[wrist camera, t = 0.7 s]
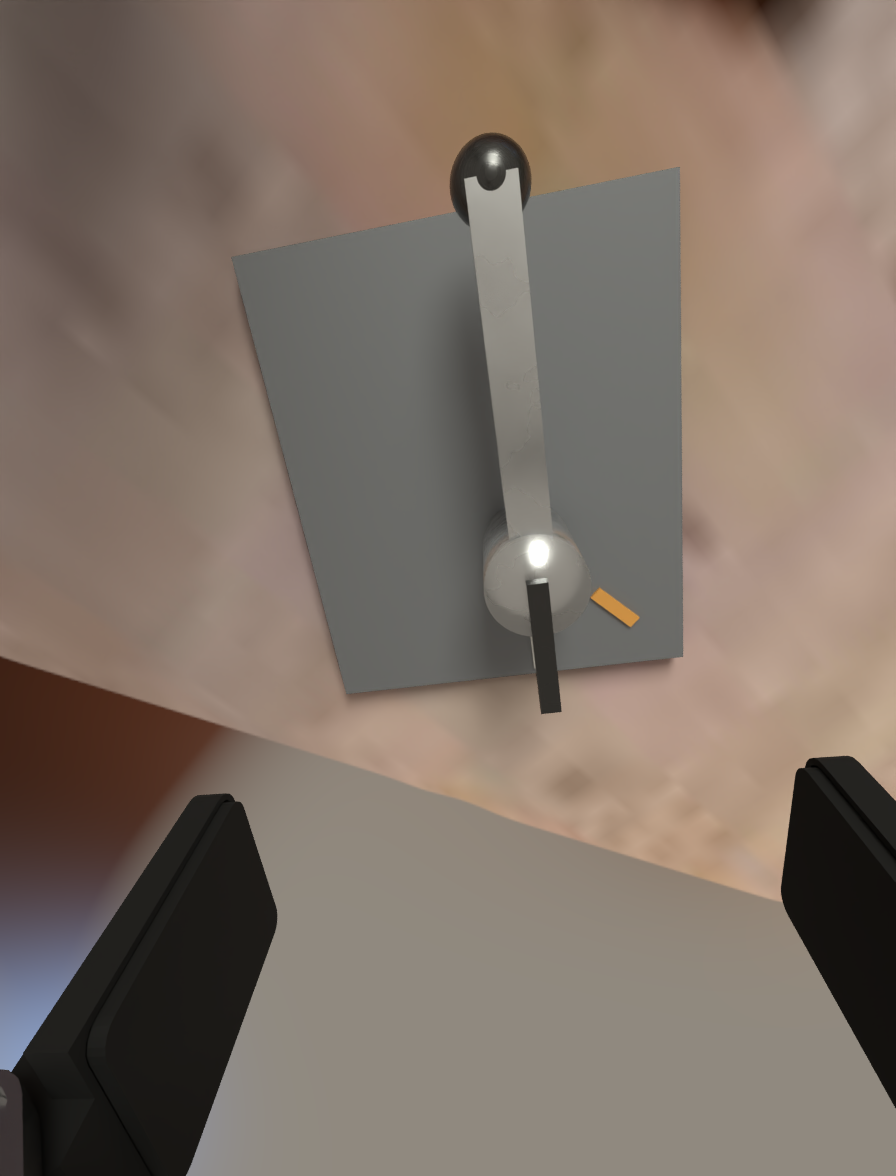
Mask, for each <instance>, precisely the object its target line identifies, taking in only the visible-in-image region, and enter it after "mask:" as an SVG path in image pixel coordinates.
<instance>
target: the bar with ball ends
mask: <svg viewBox="0 0 896 1176" xmlns="http://www.w3.org/2000/svg"><path fill="white" fill-rule="evenodd" d="M530 191H531V170H530V166H529V162H528V160H527V157H526V155H525V153H524V151H523V150H522V148H521V147H520V146H519V145H518V144H517V143H516V142H515V141H514V140H513V139H511V138H510V137H508V136H506V135H503V134H500V133H485V134H481V135H479V136H477V137H475V138H473V139H472V140H470V141H469V142H468V143H467V144H466V145H465V146H464V147H463V148H462V149H461V151H460V152H459V154H458V155H457V157H456V159H455V161H454V164H453V166H452V170H451V176H450V195H451V200H452V203H453V206H454V208H455V210H456V212H457V214H458V216H459V217H460V218H461V220H462V221H463V222H464V223H465V224H466V225H468V226H469V228H470V236H471V244H472V252H473V260H474V268H475V276H476V284H477V292H478V300H479V308H480V316H481V324H482V332H483V340H484V348H485V356H486V364H487V372H488V380H489V388H490V396H491V404H492V412H493V420H494V428H495V436H496V444H497V452H498V460H499V468H500V475H501V483H502V491H503V499H504V507H505V508H503V509H502V510H500V511H499V512H498V513H497V514H495V516H494V517H493V518H492V519H491V520H490V522H489V523H488V525H487V527H486V530H485V533H484V537H483V582H484V597H485V602H486V605H487V607H488V609H489V611H490V613H491V614H492V616H493V617H494V619H495V620H496V621H497V622H498V623H499V624H501V625H502V626H503V627H505V628H506V629H508V630H510V631H512V632H514V633H516V634H520V635H524V636H530V637H532V641H533V650H534V658H535V667H536V676H537V684H538V693H539V701H540V709H541V714H546V713H555V712H561V702H560V692H559V682H558V672H557V662H556V652H555V642H554V634H555V633H557V632H560V631H562V630H564V629H566V628H567V627H569V626H570V625H571V624H573V623H574V622H575V621H576V620H577V619H578V618H579V617H580V616H581V614H582V613H583V612H584V610H585V608H586V606H587V604H588V602H589V599H590V595H591V575H590V572H589V569H588V567H587V565H586V563H585V561H584V559H583V557H582V555H581V553H580V551H579V549H578V547H577V545H576V543H575V542H574V540H573V538H572V536H571V534H570V532H569V530H568V528H567V526H566V524H565V522H564V521H563V519H562V518H561V517H560V516H559V514H558V513H557V512H555V511H554V510H553V509H551V508H550V499H549V488H548V477H547V467H546V456H545V446H544V435H543V425H542V414H541V403H540V393H539V382H538V372H537V361H536V351H535V340H534V329H533V319H532V308H531V298H530V287H529V277H528V266H527V255H526V245H525V234H524V224H523V213H522V212H523V210H524V209H525V207H526V205H527V202H528V199H529V196H530Z"/></svg>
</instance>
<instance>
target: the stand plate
mask: <svg viewBox="0 0 896 1176" xmlns="http://www.w3.org/2000/svg"><path fill="white" fill-rule="evenodd" d="M522 213H523V224H524V234H525V245H526V255H527V266H528V277H529V287H530V298H531V308H532V319H533V329H534V340H535V351H536V361H537V372H538V382H539V393H540V403H541V414H542V425H543V435H544V446H545V456H546V467H547V477H548V488H549V499H550V508H551V509H553V510H554V511H555V512H557V513H558V514H559V516H560V517H561V518H562V519H563V521H564V522H565V524H566V526H567V528H568V530H569V532H570V534H571V536H572V538H573V540H574V542H575V543H576V545H577V547H578V549H579V551H580V553H581V555H582V557H583V559H584V561H585V563H586V565H587V567H588V569H589V572H590V575H591V595H590V599H589V602H588V604H587V606H586V608H585V610H584V612H583V613H582V614H581V616H580V617H579V618H578V619H577V620H576V621H575V622H574V623H573V624H571V625H570V626H569V627H567V628H566V629H564V630H562V631H560V632H557V633H555V634H554V642H555V652H556V662H557V671H559V670H568V669H577V668H586V667H595V666H604V665H613V664H622V663H631V662H640V661H649V660H658V659H667V658H676V657H683V570H682V421H681V271H680V167H676V168H671V169H666V170H661V171H656V172H651V173H646V174H642V175H637V176H632V177H627V178H622V179H617V180H612V181H607V182H602V183H597V184H592V185H587V186H582V187H577V188H572V189H567V190H562V191H557V192H552V193H547V194H542V195H537V196H532V197H529V199H528V202H527V205H526V207H525V209H524V210H523V212H522ZM231 258H232V261H233V265H234V269H235V273H236V277H237V280H238V284H239V288H240V292H241V296H242V299H243V303H244V307H245V311H246V315H247V318H248V322H249V326H250V330H251V334H252V337H253V341H254V345H255V349H256V353H257V356H258V360H259V364H260V368H261V372H262V375H263V379H264V383H265V387H266V391H267V394H268V398H269V402H270V406H271V409H272V413H273V417H274V421H275V425H276V428H277V432H278V436H279V440H280V444H281V447H282V451H283V455H284V459H285V463H286V466H287V470H288V474H289V478H290V482H291V485H292V489H293V493H294V497H295V501H296V504H297V508H298V512H299V516H300V520H301V523H302V527H303V531H304V535H305V539H306V542H307V546H308V550H309V554H310V558H311V561H312V565H313V569H314V573H315V576H316V580H317V584H318V588H319V592H320V595H321V599H322V603H323V607H324V611H325V614H326V618H327V622H328V626H329V630H330V633H331V637H332V641H333V645H334V649H335V652H336V656H337V660H338V664H339V668H340V671H341V675H342V679H343V683H344V687H345V690H346V694H352V693H361V692H370V691H379V690H388V689H397V688H406V687H415V686H424V685H433V684H442V683H451V682H460V681H469V680H478V679H487V678H496V677H505V676H514V675H523V674H532V673H536V667H535V658H534V650H533V641H532V637H530V636H524V635H520V634H516V633H514V632H512V631H510V630H508V629H506V628H505V627H503V626H502V625H501V624H499V623H498V622H497V621H496V620H495V619H494V617H493V616H492V614H491V613H490V611H489V609H488V607H487V605H486V602H485V597H484V582H483V537H484V533H485V530H486V527H487V525H488V523H489V522H490V520H491V519H492V518H493V517H494V516H495V514H497V513H498V512H499V511H500V510H502V509H503V508H505V507H504V499H503V491H502V483H501V475H500V468H499V460H498V452H497V444H496V436H495V428H494V420H493V412H492V404H491V396H490V388H489V380H488V372H487V364H486V356H485V348H484V340H483V332H482V324H481V316H480V308H479V300H478V292H477V284H476V276H475V268H474V260H473V252H472V244H471V236H470V228H469V226H468V225H466V224H465V223H464V222H463V221H462V220H461V218H460V217H459V216H458V214H457V212H453V213H448V214H443V215H438V216H433V217H428V218H423V219H418V220H413V221H408V222H403V223H398V224H393V225H388V226H383V227H378V228H373V229H369V230H364V231H359V232H354V233H349V234H344V235H339V236H334V237H329V238H324V239H319V240H314V241H309V242H304V243H299V244H294V245H289V246H284V247H279V248H274V249H269V250H264V251H259V252H254V253H249V254H244V255H239V256H234V257H231Z"/></svg>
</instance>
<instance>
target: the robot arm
mask: <svg viewBox="0 0 896 1176" xmlns="http://www.w3.org/2000/svg"><path fill="white" fill-rule="evenodd" d="M781 895H782V900H783V904H784V907H785V910H786V912H787V914H788V916H789V918H790V919H791V921H792V923H793V925H794V926H795V929H796V930H797V932H798V934H799V936H800V937H801V939H802V941H803V943H804V945H805V946H806V948H807V950H808V952H809V954H810V955H811V957H812V959H813V961H814V962H815V964H816V966H817V968H818V970H819V972H820V973H821V975H822V977H823V979H824V981H825V982H826V984H827V986H828V988H829V989H830V991H831V993H832V995H833V997H834V999H835V1000H836V1002H837V1004H838V1006H839V1007H840V1009H841V1011H842V1013H843V1014H844V1016H845V1018H846V1020H847V1022H848V1024H849V1025H850V1027H851V1029H852V1031H853V1033H854V1034H855V1036H856V1038H857V1040H858V1042H859V1043H860V1045H861V1047H862V1049H863V1051H864V1052H865V1054H866V1056H867V1058H868V1060H869V1061H870V1063H871V1065H872V1067H873V1069H874V1070H875V1072H876V1074H877V1075H878V1077H879V1079H880V1081H881V1083H882V1085H883V1086H884V1088H885V1090H886V1092H887V1094H888V1095H889V1097H890V1099H891V1101H892V1103H893V1104H894V1106H895V1108H896V801H895V800H894V799H893V798H892V797H891V796H890V795H889V793H888V792H887V791H886V790H885V789H884V788H883V787H882V786H881V785H880V784H879V783H878V782H877V781H876V780H875V779H874V778H873V777H872V776H871V775H870V773H869V772H868V771H867V770H866V769H865V768H864V767H863V766H862V765H861V764H860V763H859V762H858V761H857V760H856V759H854V758H853V757H850V756H837V757H821V758H811V759H809V760H808V761H807V762H806V766H805V768H800V769H798V770H797V772H796V775H795V783H794V791H793V798H792V806H791V814H790V822H789V829H788V837H787V845H786V853H785V860H784V868H783V876H782V884H781ZM276 925H277V909H276V905H275V902H274V899H273V896H272V893H271V890H270V887H269V884H268V881H267V878H266V875H265V872H264V868H263V865H262V862H261V859H260V856H259V853H258V850H257V847H256V844H255V840H254V837H253V834H252V832H251V829H250V825H249V822H248V819H247V816H246V813H245V810H244V807H243V805H242V803H241V802H235V800H234V798H233V797H232V796H231V795H230V794H212V795H197V796H195V797H194V798H193V799H192V800H191V801H190V802H189V804H188V805H187V807H186V808H185V810H184V811H183V813H182V814H181V816H180V817H179V819H178V820H177V822H176V823H175V825H174V826H173V828H172V829H171V831H170V833H169V834H168V835H167V837H166V838H165V840H164V841H163V843H162V844H161V846H160V847H159V849H158V850H157V852H156V853H155V855H154V856H153V858H152V859H151V861H150V862H149V864H148V865H147V867H146V869H145V870H144V872H143V873H142V875H141V876H140V878H139V879H138V881H137V882H136V884H135V885H134V887H133V888H132V890H131V891H130V893H129V894H128V896H127V897H126V899H125V900H124V902H123V903H122V905H121V906H120V908H119V909H118V911H117V912H116V914H115V915H114V917H113V918H112V920H111V922H110V923H109V924H108V926H107V928H106V929H105V930H104V932H103V933H102V935H101V937H100V938H99V940H98V941H97V942H96V944H95V945H94V947H93V948H92V950H91V951H90V953H89V954H88V956H87V957H86V959H85V960H84V962H83V964H82V965H81V967H80V968H79V970H78V971H77V973H76V974H75V976H74V977H73V979H72V980H71V982H70V983H69V985H68V986H67V988H66V989H65V991H64V992H63V994H62V995H61V997H60V998H59V1000H58V1001H57V1003H56V1004H55V1006H54V1007H53V1009H52V1010H51V1012H50V1013H49V1015H48V1016H47V1018H46V1020H45V1021H44V1022H43V1024H42V1025H41V1027H40V1028H39V1030H38V1031H37V1033H36V1035H35V1036H34V1037H33V1039H32V1040H31V1042H30V1043H29V1045H28V1046H27V1048H26V1050H25V1051H24V1052H23V1055H22V1057H21V1058H20V1060H19V1061H18V1063H17V1064H16V1066H15V1067H14V1069H13V1070H12V1072H10V1071H9V1070H0V1176H186V1174H187V1172H188V1170H189V1168H190V1165H191V1163H192V1160H193V1157H194V1155H195V1152H196V1149H197V1146H198V1144H199V1141H200V1138H201V1135H202V1133H203V1130H204V1127H205V1124H206V1121H207V1119H208V1116H209V1113H210V1111H211V1108H212V1105H213V1102H214V1099H215V1097H216V1094H217V1091H218V1088H219V1086H220V1083H221V1080H222V1077H223V1074H224V1072H225V1069H226V1066H227V1063H228V1061H229V1058H230V1055H231V1052H232V1050H233V1047H234V1044H235V1041H236V1039H237V1036H238V1033H239V1030H240V1027H241V1025H242V1022H243V1019H244V1016H245V1014H246V1011H247V1008H248V1005H249V1003H250V1000H251V997H252V994H253V991H254V989H255V986H256V983H257V981H258V978H259V975H260V972H261V969H262V967H263V964H264V961H265V958H266V956H267V953H268V950H269V947H270V944H271V942H272V939H273V936H274V933H275V930H276Z"/></svg>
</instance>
